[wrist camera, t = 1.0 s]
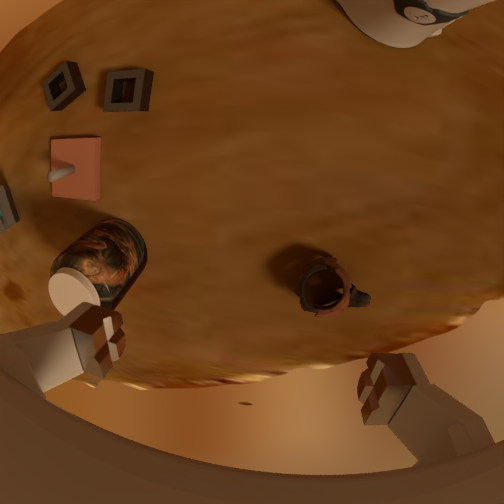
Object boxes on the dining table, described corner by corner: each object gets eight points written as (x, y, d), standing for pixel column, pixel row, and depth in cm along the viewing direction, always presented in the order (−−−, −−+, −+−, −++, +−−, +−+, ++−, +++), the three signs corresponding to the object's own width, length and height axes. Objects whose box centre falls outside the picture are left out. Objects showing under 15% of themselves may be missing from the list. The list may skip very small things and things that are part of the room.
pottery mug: (295, 308, 48) (288, 317, 40) (303, 253, 48) (297, 252, 40) (363, 318, 44) (369, 329, 36) (372, 263, 44) (380, 263, 36)
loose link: (53, 83, 31) (42, 83, 28) (76, 62, 30) (66, 60, 27) (61, 110, 33) (50, 111, 31) (86, 90, 32) (75, 89, 29)
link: (118, 74, 31) (108, 71, 28) (153, 71, 31) (145, 68, 29) (113, 111, 34) (103, 111, 31) (148, 111, 34) (139, 110, 31)
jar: (145, 287, 47) (109, 345, 33) (91, 269, 46) (47, 317, 33) (150, 227, 42) (104, 275, 28) (90, 211, 41) (34, 249, 28)
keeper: (56, 138, 35) (29, 144, 29) (101, 137, 36) (74, 142, 29) (57, 193, 40) (32, 206, 34) (100, 198, 40) (75, 212, 34)
